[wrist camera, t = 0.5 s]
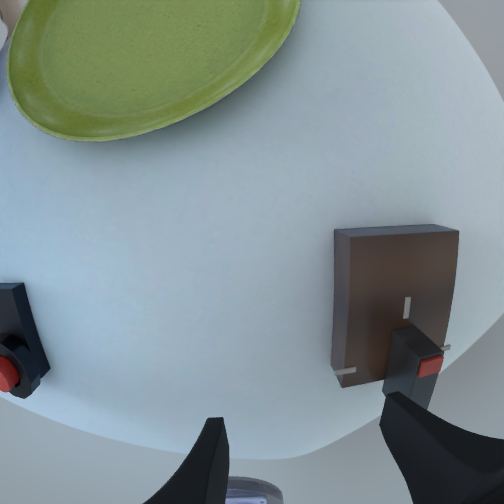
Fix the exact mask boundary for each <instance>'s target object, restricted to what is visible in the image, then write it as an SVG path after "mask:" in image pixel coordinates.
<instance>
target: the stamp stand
mask: <svg viewBox="0 0 504 504" xmlns="http://www.w3.org/2000/svg"><path fill="white" fill-rule="evenodd" d="M458 243H459V231H458V230H455V229H451V228H447V227H443V226H439V225H435V224H429V225H407V226H387V227H368V228H350V229H335V230H334V313H333V336H332V354H331V366H332V368H333V370H334V372H335V376H337V379H338V381H339V383H340V385H341V387H342V388H345V387H350V386H355V385H361V384H365V383H370V382H375V381H379V380H384V379H385V373H386V368H387V362H388V357H389V350H390V344H391V337H392V331H393V330H396V329H401V328H407V327H411V326H416V327H417V328H418V329H420V330H421V331H422V332H423V333H424V334H425V335H426V336H427V337H429V338H430V339H431V340H432V341H433V342H434V343H435V344H436V345H438V346H439V347H440V348H441V349H442V350H443V351H446V350H449V349H450V346H451V345H450V344H449V345H446V346H444V341H445V337H446V332H447V327H448V322H449V317H450V311H451V305H452V299H453V292H454V284H455V276H456V267H457V257H458Z"/></svg>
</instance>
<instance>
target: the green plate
mask: <svg viewBox="0 0 504 504" xmlns="http://www.w3.org/2000/svg"><path fill="white" fill-rule="evenodd" d="M300 5H301V0H28V2H27V3H26V5H25V7H24V8H23V10H22V12H21V14H20V16H19V18H18V21H17V23H16V25H15V28H14V31H13V33H12V36H11V40H10V44H9V49H8V54H7V66H6V70H7V81H8V86H9V90H10V93H11V96H12V99H13V101H14V103H15V105H16V107H17V108H18V110H19V112H20V113H21V114H22V115H23V116H24V117H25V119H26V120H27V121H28V122H30V123H31V124H32V125H33V126H35V127H36V128H38V129H39V130H41V131H43V132H45V133H47V134H49V135H52V136H55V137H58V138H61V139H66V140H71V141H78V142H103V141H112V140H119V139H125V138H129V137H134V136H138V135H142V134H145V133H149V132H152V131H155V130H158V129H161V128H163V127H166V126H169V125H171V124H174V123H176V122H179V121H181V120H183V119H186V118H188V117H190V116H192V115H194V114H196V113H198V112H200V111H202V110H204V109H206V108H208V107H209V106H211V105H213V104H214V103H216V102H218V101H219V100H221V99H222V98H224V97H226V96H227V95H229V94H230V93H231V92H233V91H234V90H235V89H237V88H238V87H240V86H241V85H242V84H244V83H245V82H246V81H248V80H249V79H250V78H251V77H252V76H253V75H255V74H256V73H257V72H258V71H259V70H260V69H261V68H262V67H263V66H264V65H265V64H266V63H267V62H268V61H269V60H270V59H271V58H272V57H273V55H274V54H275V53H276V52H277V51H278V50H279V48H280V47H281V46H282V44H283V43H284V41H285V40H286V38H287V37H288V35H289V34H290V32H291V30H292V28H293V26H294V23H295V21H296V19H297V16H298V13H299V9H300Z"/></svg>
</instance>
